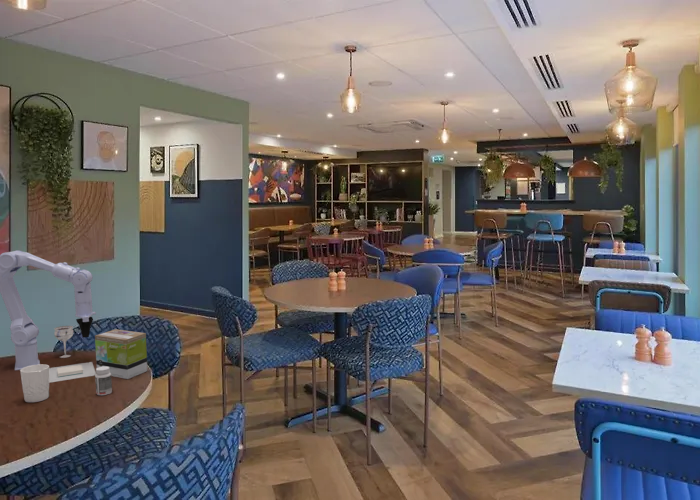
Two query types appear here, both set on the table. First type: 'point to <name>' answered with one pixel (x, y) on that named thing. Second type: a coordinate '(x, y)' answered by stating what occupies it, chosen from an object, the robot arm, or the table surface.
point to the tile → (70, 370)
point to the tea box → (122, 352)
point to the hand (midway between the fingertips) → (85, 336)
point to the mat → (87, 371)
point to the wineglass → (64, 336)
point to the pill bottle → (103, 381)
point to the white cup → (35, 382)
